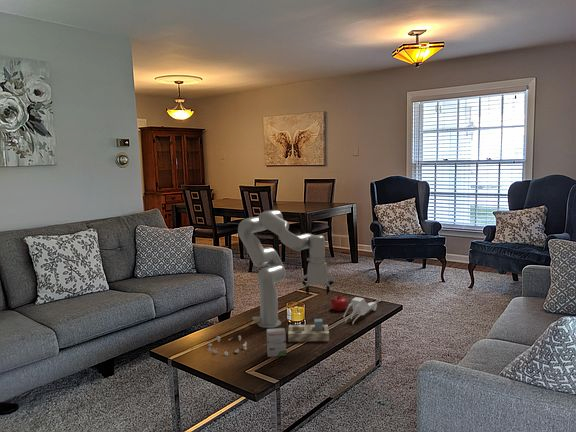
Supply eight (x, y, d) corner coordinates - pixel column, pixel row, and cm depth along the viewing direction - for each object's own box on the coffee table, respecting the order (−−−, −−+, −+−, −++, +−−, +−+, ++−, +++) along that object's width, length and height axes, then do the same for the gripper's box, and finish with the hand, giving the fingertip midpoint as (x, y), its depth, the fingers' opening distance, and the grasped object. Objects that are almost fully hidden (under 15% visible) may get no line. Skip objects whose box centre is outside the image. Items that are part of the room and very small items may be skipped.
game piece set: (203, 343, 227) (203, 336, 226) (242, 337, 234) (242, 330, 233) (211, 359, 209) (210, 351, 208) (253, 352, 215) (253, 344, 215)
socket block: (288, 341, 226) (288, 333, 226) (289, 332, 238) (288, 324, 237) (329, 341, 225) (329, 332, 225) (327, 332, 237) (327, 324, 237)
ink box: (285, 351, 214) (284, 327, 213) (286, 356, 209) (285, 331, 208) (267, 352, 213) (266, 328, 212) (267, 357, 208) (266, 332, 207)
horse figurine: (357, 339, 251) (380, 309, 269) (350, 313, 244) (374, 283, 262) (349, 337, 255) (372, 307, 273) (341, 311, 248) (366, 282, 266)
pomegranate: (351, 309, 273) (351, 293, 272) (341, 313, 266) (340, 297, 265) (337, 305, 280) (337, 290, 279) (327, 309, 273) (327, 294, 271)
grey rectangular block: (314, 337, 230) (314, 321, 229) (314, 334, 234) (314, 318, 233) (322, 336, 230) (322, 321, 229) (322, 333, 234) (322, 318, 233)
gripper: (299, 262, 223) (300, 296, 226) (335, 261, 223) (335, 296, 225) (299, 258, 231) (300, 292, 233) (334, 258, 230) (334, 291, 232)
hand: (317, 293), depth 229 cm, fingers open, 9 cm apart
